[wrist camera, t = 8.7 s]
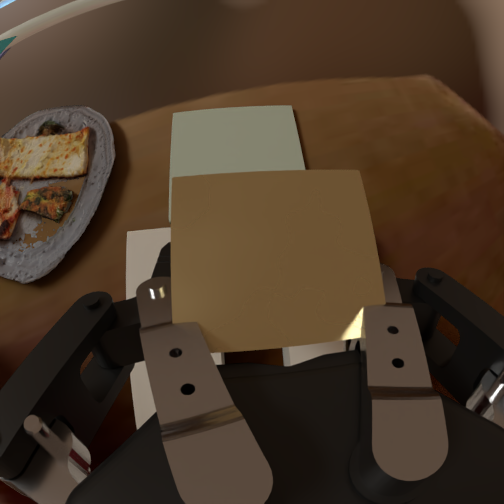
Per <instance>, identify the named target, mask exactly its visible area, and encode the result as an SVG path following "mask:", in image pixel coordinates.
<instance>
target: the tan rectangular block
mask: <svg viewBox="0 0 504 504" xmlns="http://www.w3.org/2000/svg"><path fill="white" fill-rule="evenodd" d="M171 298H172V322H173V323H183V322H197V323H198V326H199V328H200V330H201V333H202V335H203V337H204V340H205V342H206V344H207V346H208V349H209V351H210V353H220V352H236V351H250V350H262V349H273V348H284V347H293V346H302V345H310V344H318V343H326V342H333V341H340V340H347V339H353V338H359V337H360V335H361V325H362V314H363V306H370V305H379V304H386V301H385V294H384V288H383V281H382V275H381V269H380V263H379V257H378V252H377V246H376V241H375V236H374V231H373V226H372V222H371V217H370V212H369V208H368V204H367V199H366V195H365V191H364V187H363V183H362V179H361V175H360V171H359V170H281V171H254V172H235V173H219V174H205V175H193V176H181V177H172V193H171Z"/></svg>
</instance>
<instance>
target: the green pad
mask: <svg viewBox="0 0 504 504" xmlns="http://www.w3.org/2000/svg"><path fill="white" fill-rule="evenodd" d="M281 170H305V165H304V160H303V156H302V151H301V146H300V141H299V137H298V132H297V128H296V123H295V119H294V114H293V110H292V106H251V107H232V108H218V109H206V110H196V111H187V112H178V113H173V123H172V138H171V157H170V183H169V223H170V224H171V193H172V177H181V176H193V175H205V174H219V173H235V172H254V171H281Z"/></svg>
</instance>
